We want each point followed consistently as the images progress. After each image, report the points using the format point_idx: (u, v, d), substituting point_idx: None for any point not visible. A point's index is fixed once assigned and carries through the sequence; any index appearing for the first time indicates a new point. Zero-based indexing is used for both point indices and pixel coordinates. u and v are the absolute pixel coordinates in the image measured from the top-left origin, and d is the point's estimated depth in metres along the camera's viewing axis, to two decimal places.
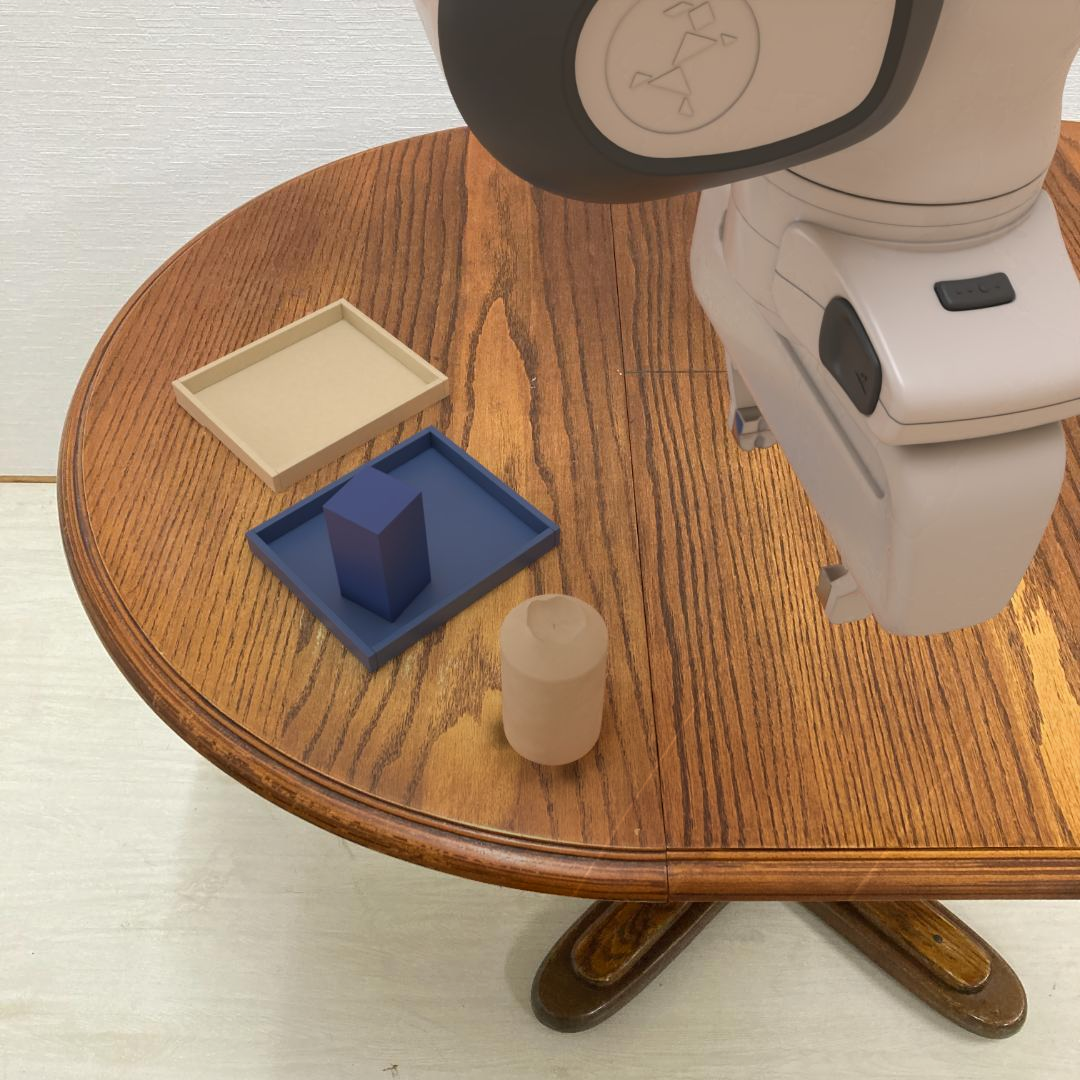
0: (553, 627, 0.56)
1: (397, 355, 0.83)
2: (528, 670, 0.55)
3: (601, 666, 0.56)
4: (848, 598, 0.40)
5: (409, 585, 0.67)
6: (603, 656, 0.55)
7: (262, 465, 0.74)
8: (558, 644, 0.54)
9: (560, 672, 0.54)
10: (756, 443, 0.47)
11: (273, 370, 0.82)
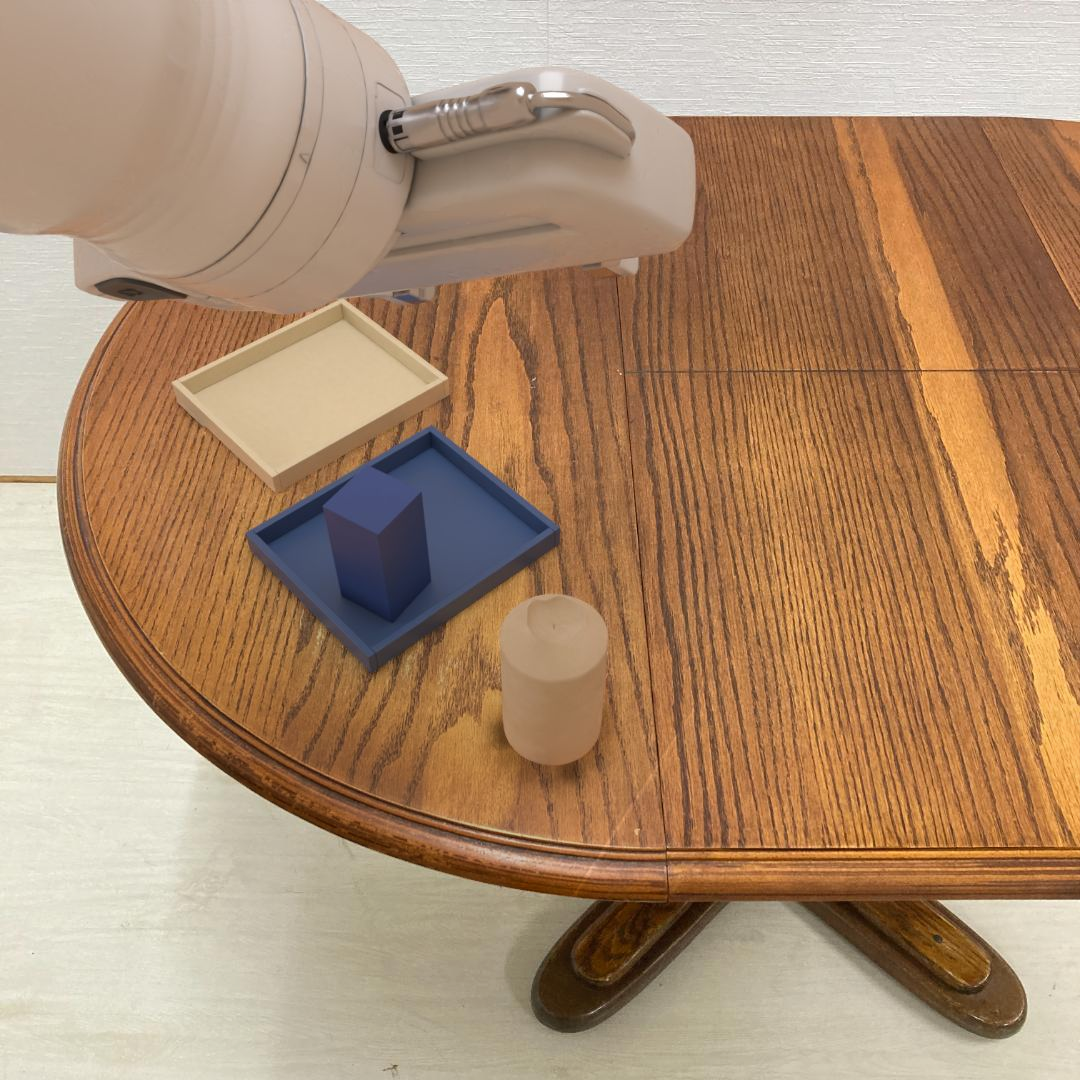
0: (553, 627, 0.56)
1: (397, 355, 0.83)
2: (528, 670, 0.55)
3: (601, 666, 0.56)
4: None
5: (409, 585, 0.67)
6: (603, 656, 0.55)
7: (262, 465, 0.74)
8: (558, 644, 0.54)
9: (560, 672, 0.54)
10: None
11: (273, 370, 0.82)
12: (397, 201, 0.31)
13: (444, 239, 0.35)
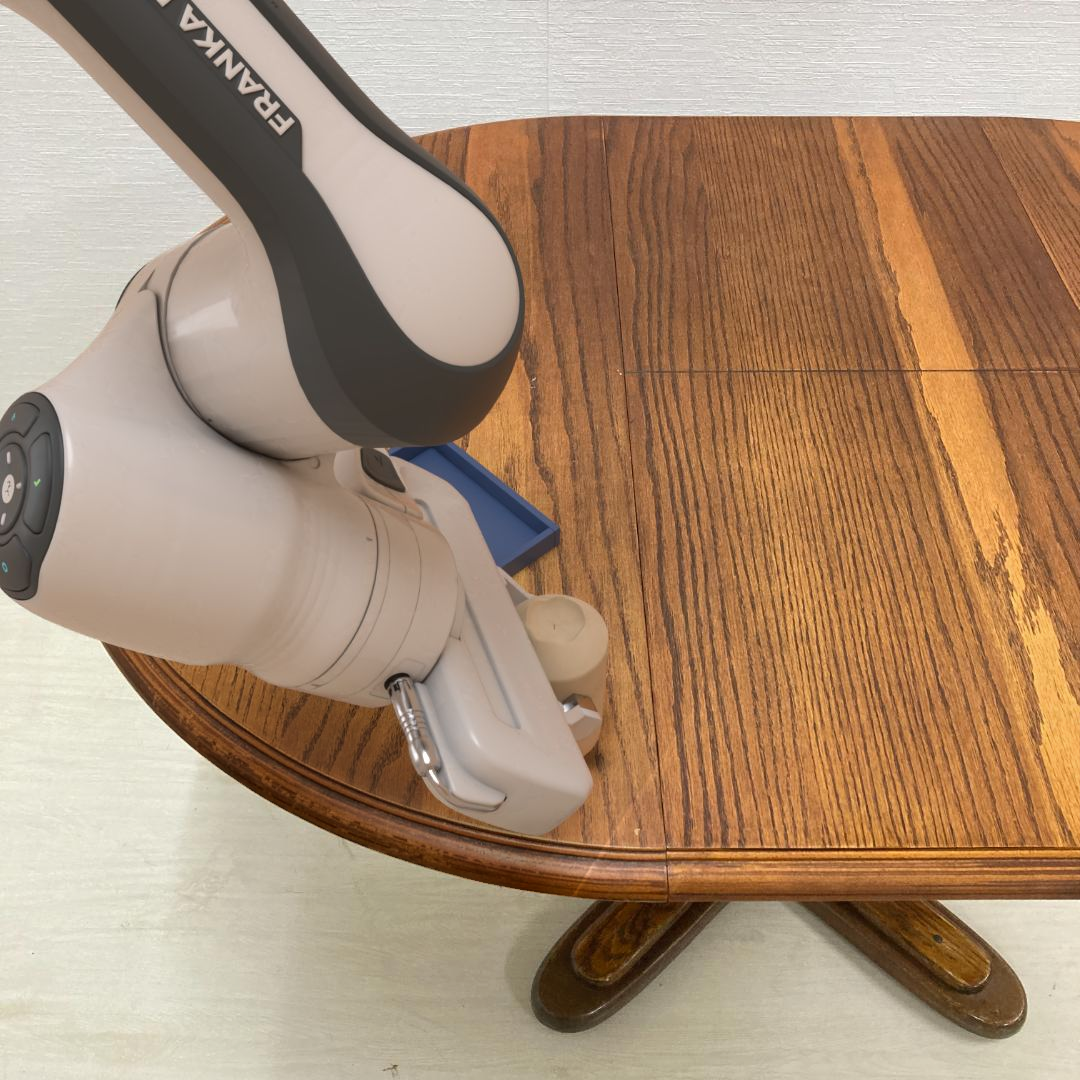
0: (553, 627, 0.56)
1: None
2: None
3: (601, 666, 0.56)
4: None
5: None
6: (603, 656, 0.55)
7: None
8: (558, 644, 0.54)
9: (560, 672, 0.54)
10: None
11: None
12: (384, 702, 0.48)
13: None
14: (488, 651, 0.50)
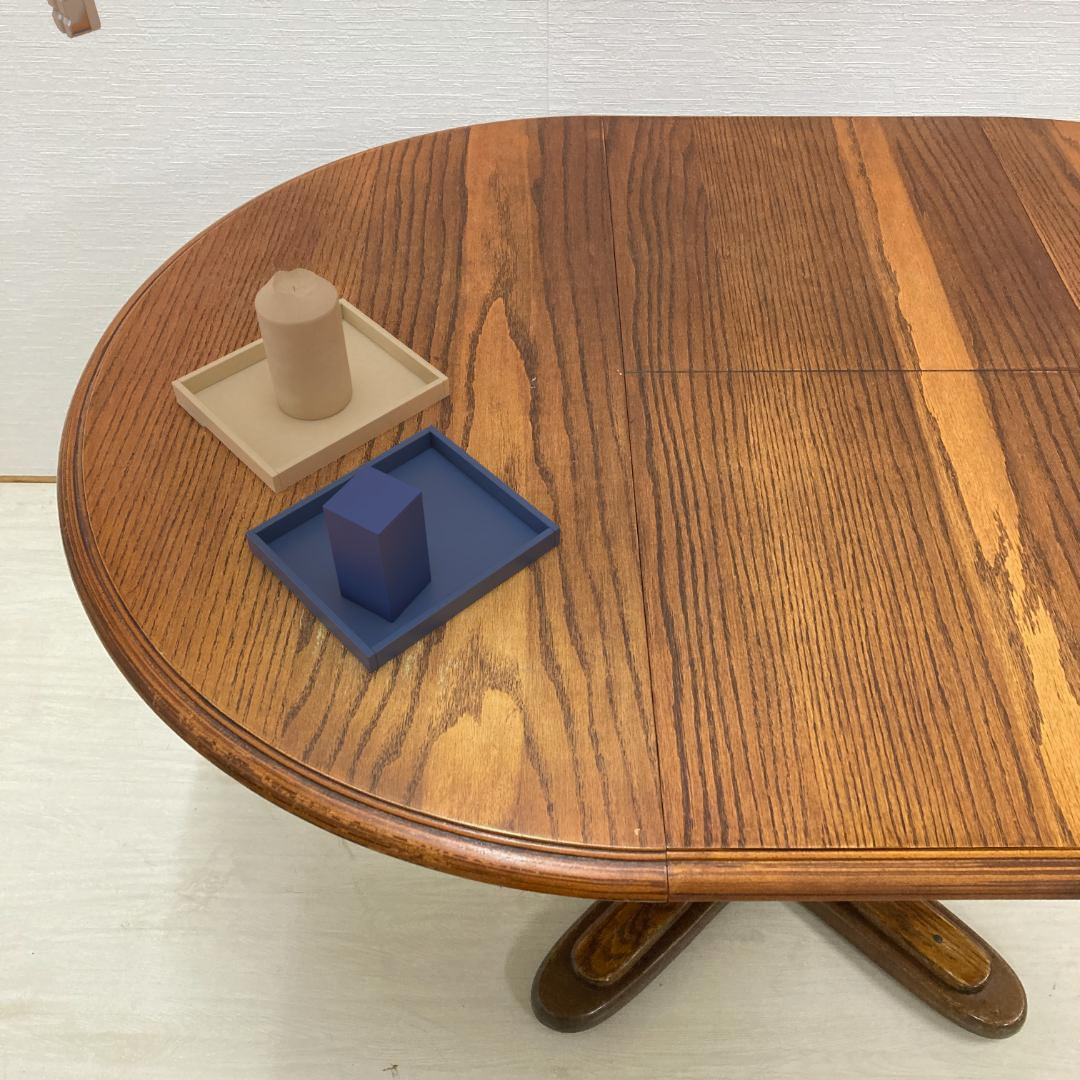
0: (294, 290, 0.74)
1: (397, 355, 0.83)
2: (271, 316, 0.73)
3: (331, 319, 0.74)
4: None
5: (409, 585, 0.67)
6: (331, 310, 0.73)
7: (262, 465, 0.74)
8: (293, 296, 0.72)
9: (294, 317, 0.72)
10: None
11: None
12: None
13: None
14: None
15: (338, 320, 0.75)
